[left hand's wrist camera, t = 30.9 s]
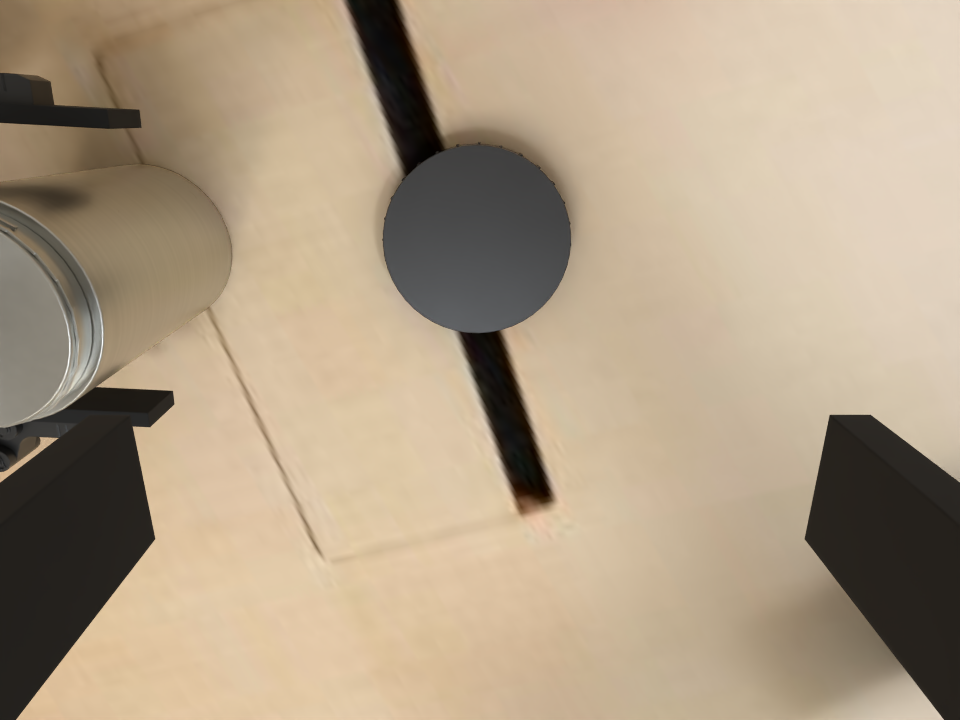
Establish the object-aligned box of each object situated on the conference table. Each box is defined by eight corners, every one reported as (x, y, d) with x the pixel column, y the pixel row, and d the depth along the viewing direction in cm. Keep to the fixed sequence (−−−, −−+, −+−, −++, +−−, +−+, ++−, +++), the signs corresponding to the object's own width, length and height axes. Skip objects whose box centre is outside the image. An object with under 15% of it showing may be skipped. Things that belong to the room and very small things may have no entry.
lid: (599, 269, 37) (604, 276, 35) (447, 355, 39) (446, 365, 37) (510, 104, 34) (512, 104, 32) (350, 205, 36) (344, 209, 34)
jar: (255, 300, 37) (125, 407, 24) (115, 337, 38) (-91, 462, 24) (194, 144, 34) (4, 163, 21) (43, 188, 35) (-237, 234, 21)
